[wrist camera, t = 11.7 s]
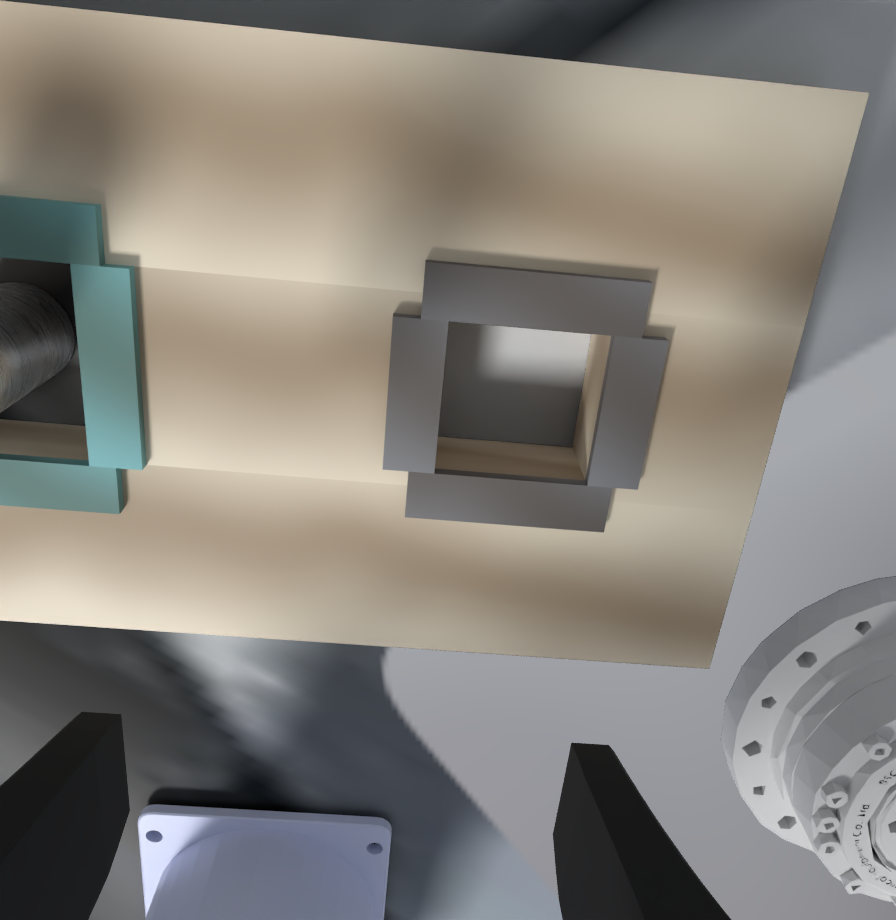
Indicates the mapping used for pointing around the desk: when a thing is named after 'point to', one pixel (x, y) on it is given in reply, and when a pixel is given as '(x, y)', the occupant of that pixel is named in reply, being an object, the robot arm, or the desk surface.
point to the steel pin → (31, 340)
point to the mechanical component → (824, 734)
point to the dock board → (398, 332)
